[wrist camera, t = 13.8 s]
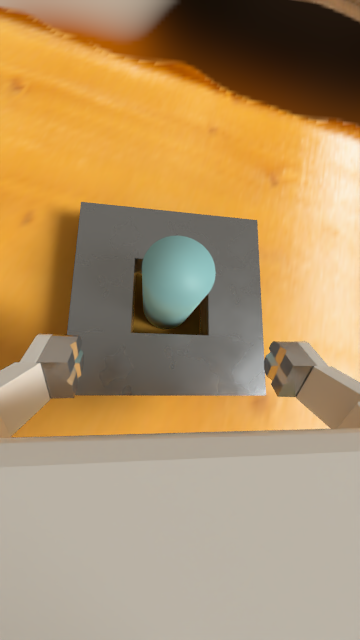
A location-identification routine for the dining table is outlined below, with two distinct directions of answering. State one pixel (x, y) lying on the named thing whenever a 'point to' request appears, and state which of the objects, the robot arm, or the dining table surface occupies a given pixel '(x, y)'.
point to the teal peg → (175, 280)
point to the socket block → (165, 349)
